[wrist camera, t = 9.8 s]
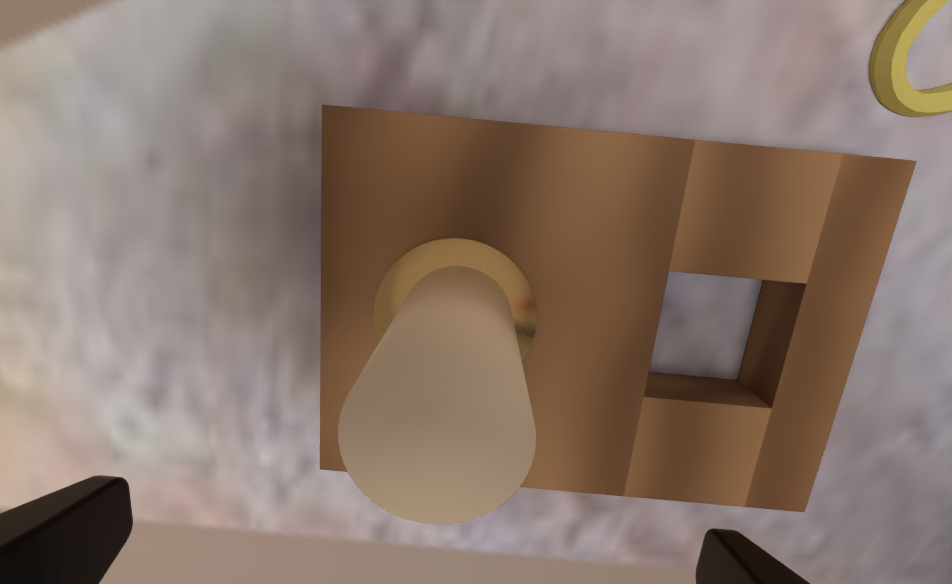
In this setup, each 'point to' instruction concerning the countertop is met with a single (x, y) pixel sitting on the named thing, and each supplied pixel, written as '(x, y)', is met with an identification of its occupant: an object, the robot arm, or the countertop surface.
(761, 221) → the walnut holder
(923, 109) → the key
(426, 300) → the ivory candle
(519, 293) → the brass disc
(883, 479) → the countertop surface
